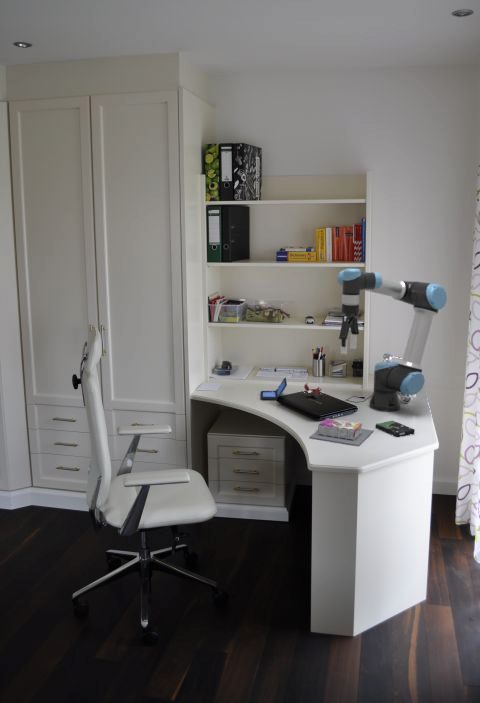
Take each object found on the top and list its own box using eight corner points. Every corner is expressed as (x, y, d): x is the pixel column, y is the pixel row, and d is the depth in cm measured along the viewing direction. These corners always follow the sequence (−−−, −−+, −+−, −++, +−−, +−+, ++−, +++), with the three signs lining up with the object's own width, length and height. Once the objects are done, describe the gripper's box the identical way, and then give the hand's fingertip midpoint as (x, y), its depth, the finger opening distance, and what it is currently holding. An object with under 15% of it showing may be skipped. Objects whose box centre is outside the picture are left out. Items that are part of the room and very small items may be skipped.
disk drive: (414, 435, 298) (392, 425, 310) (415, 429, 297) (392, 419, 310) (397, 438, 293) (374, 429, 306) (397, 432, 292) (374, 423, 305)
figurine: (330, 400, 351) (330, 388, 349) (310, 402, 346) (310, 389, 345) (316, 393, 364) (317, 381, 363) (297, 395, 360) (297, 383, 359)
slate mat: (326, 424, 310) (326, 423, 310) (373, 431, 300) (373, 430, 300) (309, 438, 291) (309, 436, 290) (358, 446, 281) (358, 445, 281)
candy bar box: (326, 417, 302) (362, 422, 295) (326, 427, 303) (361, 433, 296) (318, 423, 292) (354, 429, 285) (317, 434, 293) (354, 441, 286)
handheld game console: (260, 393, 364) (260, 376, 363) (285, 393, 364) (285, 377, 362) (260, 401, 349) (261, 383, 347) (286, 401, 349) (287, 384, 347)
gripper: (351, 300, 310) (349, 345, 315) (333, 306, 289) (331, 355, 293) (366, 301, 307) (364, 347, 311) (350, 307, 285) (347, 356, 289)
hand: (348, 351), depth 302 cm, fingers open, 13 cm apart
